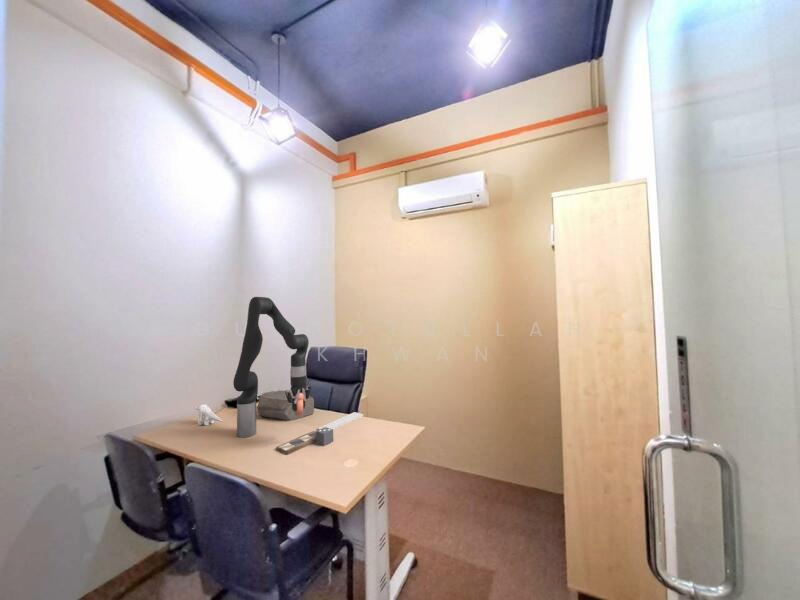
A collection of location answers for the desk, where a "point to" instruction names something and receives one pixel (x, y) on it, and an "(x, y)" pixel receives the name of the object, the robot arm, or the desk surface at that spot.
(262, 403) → the stone
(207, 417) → the white dinosaur figurine
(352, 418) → the baseboard
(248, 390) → the robot arm
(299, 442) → the game strip
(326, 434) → the die
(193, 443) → the desk surface
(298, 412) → the pawn
